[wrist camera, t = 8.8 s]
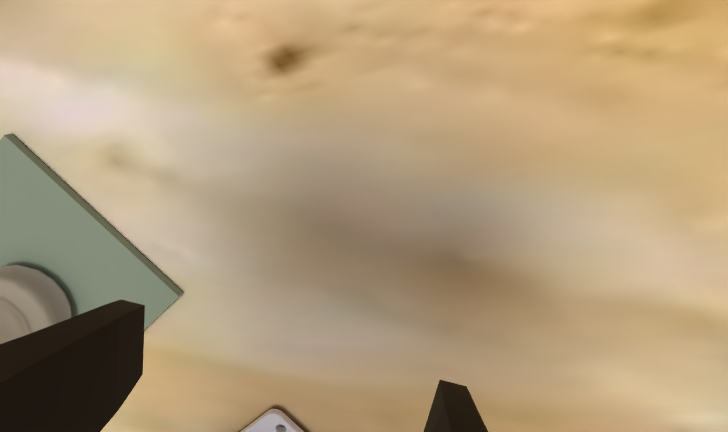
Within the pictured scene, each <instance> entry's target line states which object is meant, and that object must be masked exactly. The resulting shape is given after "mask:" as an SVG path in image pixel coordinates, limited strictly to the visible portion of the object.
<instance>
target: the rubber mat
mask: <svg viewBox="0 0 728 432" xmlns="http://www.w3.org/2000/svg"><path fill="white" fill-rule="evenodd" d="M12 265H19V266H24V267H28V268H32V269H36V270H40V271H42V272H44V273H45V274H47V275H49V276H50V277H52V278H53V279H55V280H56V281H57V282H58V284H59V285H60V286H61V287H62V288H63V289H64V290H65V292H66V294H67V296H68V299H69V301H70V303H71V309H72V317H74V316H77V315H79V314H82V313H85V312H87V311H90V310H92V309H95V308H98V307H100V306H103V305H106V304H109V303H111V302H115V301H118V300H121V299H122V300H126V301H130V302H134V303H138V304H142V305H145V319H144V330H145V329H146V328H147V327H148V326H149V325H150V324H151V323H152V322H153V321H154V320H155V319H156V318H157V317H158V316H159V315H160V314H162V313H163V312H164V311H165V310H166V309H167V308H168V307H169V306H170V305H171V304H172V303H173V302H174V301H175V300H176V299H177V298H178V297H179V296H180V295H181V294H182V293H183V292H182V291H181V290H180V289H179V288H178V287H177V286H176V285H175V284H174V283H173V282H172V281H170V280H169V279H168V278H167V277H166V276H165V275H164V274H163V273H162V272H161V271H160V270H159V269H157V268H156V267H155V266H154V265H153V264H152V263H151V262H150V261H149V260H148V259H147V258H146V257H145V256H143V255H142V254H141V253H140V252H139V251H138V250H137V249H136V248H135V247H134V246H133V245H132V244H130V243H129V242H128V241H127V240H126V239H125V238H124V237H123V236H122V235H121V234H120V233H119V232H118V231H116V230H115V229H114V228H113V227H112V226H111V225H110V224H109V223H108V222H107V221H106V220H105V219H104V218H102V217H101V216H100V215H99V214H98V213H97V212H96V211H95V210H94V209H93V208H92V207H91V206H89V205H88V204H87V203H86V202H85V201H84V200H83V199H82V198H81V197H80V196H79V195H78V194H77V193H75V192H74V191H73V190H72V189H71V188H70V187H69V186H68V185H67V184H66V183H65V182H64V181H63V180H61V179H60V178H59V177H58V176H57V175H56V174H55V173H54V172H53V171H52V170H51V169H50V168H48V167H47V166H46V165H45V164H44V163H43V162H42V161H41V160H40V159H39V158H38V157H37V156H36V155H34V154H33V153H32V152H31V151H30V150H29V149H28V148H27V147H26V146H25V145H24V144H23V143H21V142H20V141H19V140H18V139H17V138H16V137H15V136H14V135H13V134H7V135H4V136H3V137H2V139H1V140H0V267H5V266H12Z"/></svg>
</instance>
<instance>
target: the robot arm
mask: <svg viewBox="0 0 728 432" xmlns="http://www.w3.org/2000/svg"><path fill="white" fill-rule="evenodd" d="M144 319H145V305H142V304H138V303H134V302H130V301H126V300H122V299H121V300H118V301H115V302H111V303H109V304H106V305H103V306H100V307H98V308H95V309H92V310H90V311H87V312H85V313H82V314H79V315H77V316H74V317H72V318H69V319H67V320H64V321H62V322H59V323H56V324H54V325H51V326H49V327H46V328H43V329H41V330H38V331H36V332H33V333H30V334H28V335H25V336H22V337H19V338H16V339H13V340H11V341H8V342H5V343H2V344H0V432H100V431H101V430H102V429H103V427H104V426H105V425H106V424H107V423H108V422H109V421H110V419H111V418H112V417H113V416H114V415H115V413H116V412H117V411H118V410H119V408H120V407H121V405H122V404H123V402H124V401H125V400H126V398H127V397H128V395H129V394H130V392H131V391H132V389H133V388H134V386H135V385H136V383H137V382H138V380H139V379H140V377H141V376H142V371H143V345H144ZM279 424H281V425H284V426H285V427H282V426H280V425H279ZM241 432H304V431H303V430H302V429H301V428H299V427H298V426H297V425H296V424H295V423H294V422H293V421H292V420H291V419H290V418H289V417H287V416H286V415H285V414H284V413H283V412H282V411H280V410H278V409H270V410H268V411H267V412H266V413H264V414H263V415H262V416H260V417H259V418H258V419H256V420H255V421H254V422H252V423H251V424H250V425H248V426H247V427H246V428H244V429H243V430H242V431H241ZM424 432H488V431H487V428H486V426H485V424H484V422H483V420H482V418H481V416H480V414H479V412H478V410H477V408H476V406H475V403H474V401H473V399H472V397H471V395H470V392H469V391H468V389H467V387H466V386H462V385H458V384H455V383H451V382H447V381H443V380H440V381H439V384H438V387H437V390H436V394H435V397H434V400H433V403H432V407H431V410H430V413H429V416H428V420H427V423H426V426H425V429H424Z"/></svg>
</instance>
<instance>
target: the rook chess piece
mask: <svg viewBox="0 0 728 432" xmlns="http://www.w3.org/2000/svg"><path fill="white" fill-rule="evenodd" d="M69 318H72V309H71V303H70V301H69V299H68V296H67V294H66V292H65V290H64V289H63V288H62V287H61V286H60V285H59V284H58V282H57V281H56V280H55V279H53V278H52V277H50V276H49V275H47V274H45V273H44V272H42V271H40V270H36V269H32V268H28V267H24V266H19V265H12V266H5V267H0V344H2V343H5V342H8V341H11V340H13V339H16V338H19V337H22V336H25V335H28V334H30V333H33V332H36V331H38V330H41V329H43V328H46V327H49V326H51V325H54V324H56V323H59V322H62V321H64V320H67V319H69Z"/></svg>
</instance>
